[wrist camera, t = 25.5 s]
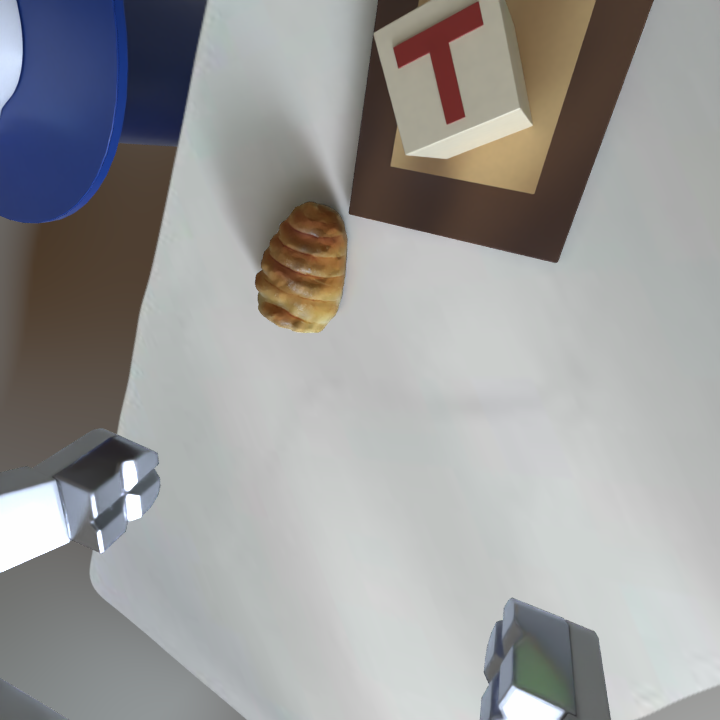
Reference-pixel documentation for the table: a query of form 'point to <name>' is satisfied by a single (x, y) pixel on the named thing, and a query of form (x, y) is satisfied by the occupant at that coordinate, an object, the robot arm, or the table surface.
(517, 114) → the letter block
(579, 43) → the brown board
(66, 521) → the robot arm
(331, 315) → the pastry
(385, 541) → the table surface
